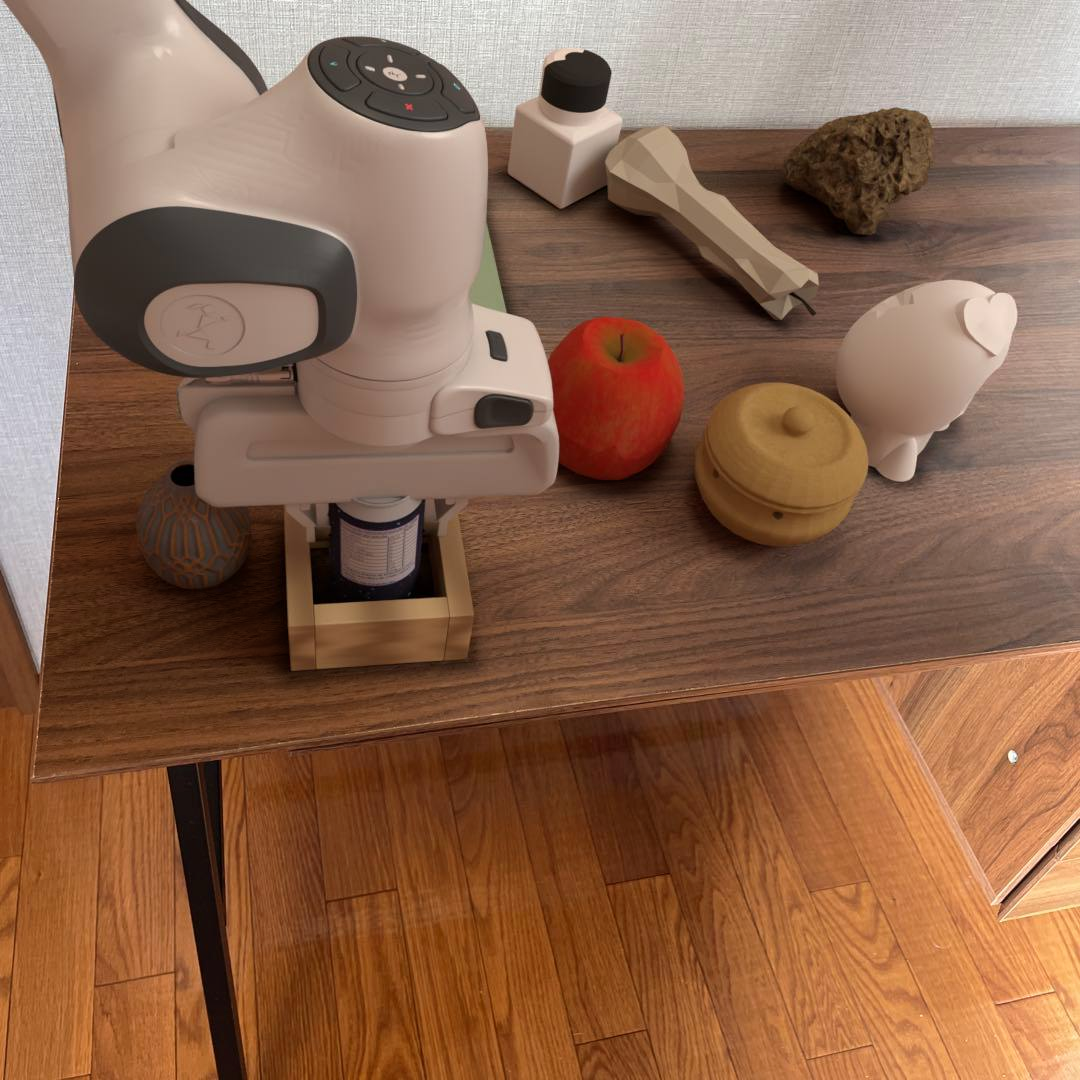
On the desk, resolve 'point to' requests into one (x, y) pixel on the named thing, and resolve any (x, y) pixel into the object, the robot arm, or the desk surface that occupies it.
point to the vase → (190, 532)
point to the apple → (614, 397)
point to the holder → (378, 612)
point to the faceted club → (704, 219)
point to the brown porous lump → (863, 164)
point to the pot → (780, 463)
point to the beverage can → (375, 549)
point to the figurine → (920, 365)
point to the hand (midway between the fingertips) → (376, 531)
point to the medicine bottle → (565, 129)
